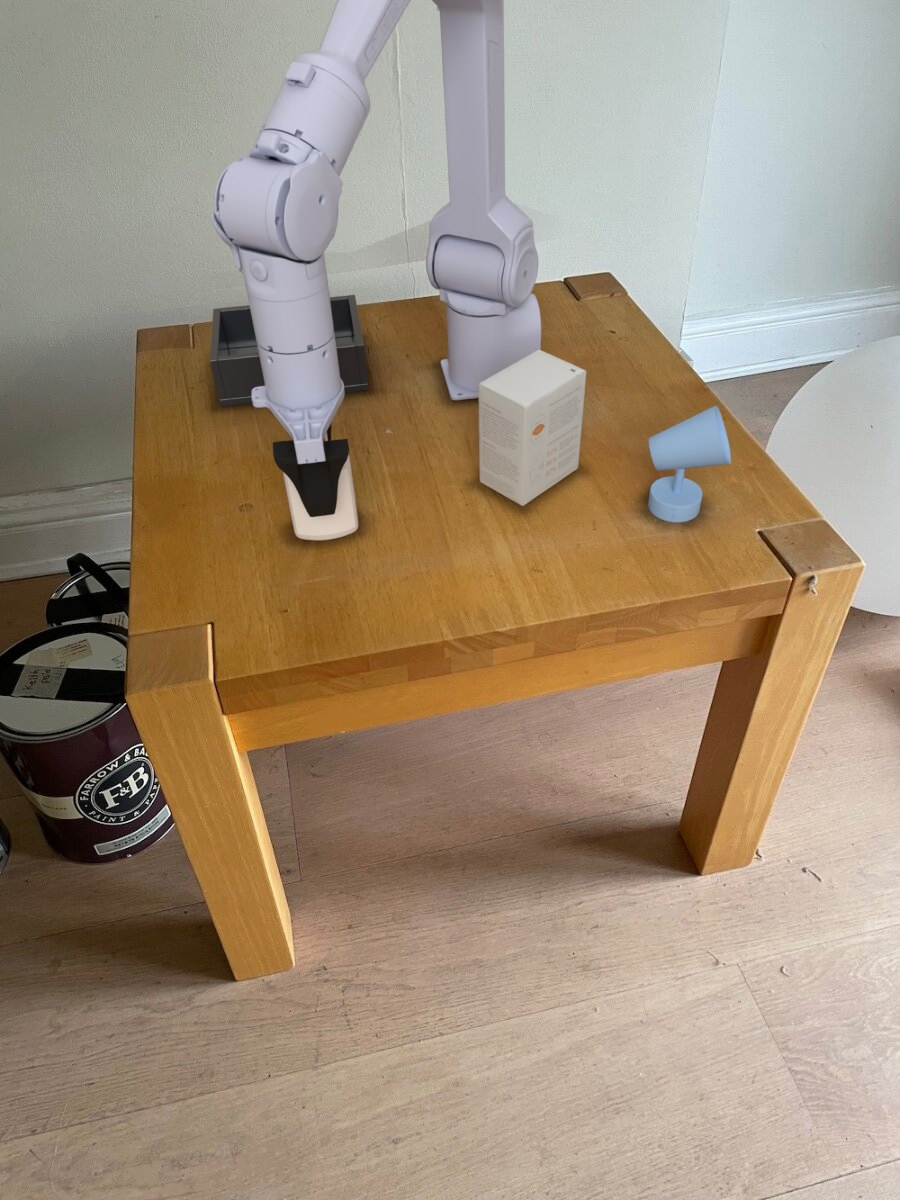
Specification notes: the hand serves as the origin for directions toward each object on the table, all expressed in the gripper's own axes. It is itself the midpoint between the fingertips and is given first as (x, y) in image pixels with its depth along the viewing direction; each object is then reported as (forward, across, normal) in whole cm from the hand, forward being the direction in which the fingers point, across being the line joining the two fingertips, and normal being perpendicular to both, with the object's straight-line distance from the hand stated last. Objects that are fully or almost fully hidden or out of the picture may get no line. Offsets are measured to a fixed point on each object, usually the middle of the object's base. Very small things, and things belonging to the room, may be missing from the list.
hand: (319, 485), depth 75 cm
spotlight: (+5, +3, +31) cm, 32 cm away
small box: (+5, -4, +19) cm, 20 cm away
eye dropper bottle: (+5, 0, 0) cm, 5 cm away
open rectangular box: (+5, -28, -2) cm, 28 cm away
